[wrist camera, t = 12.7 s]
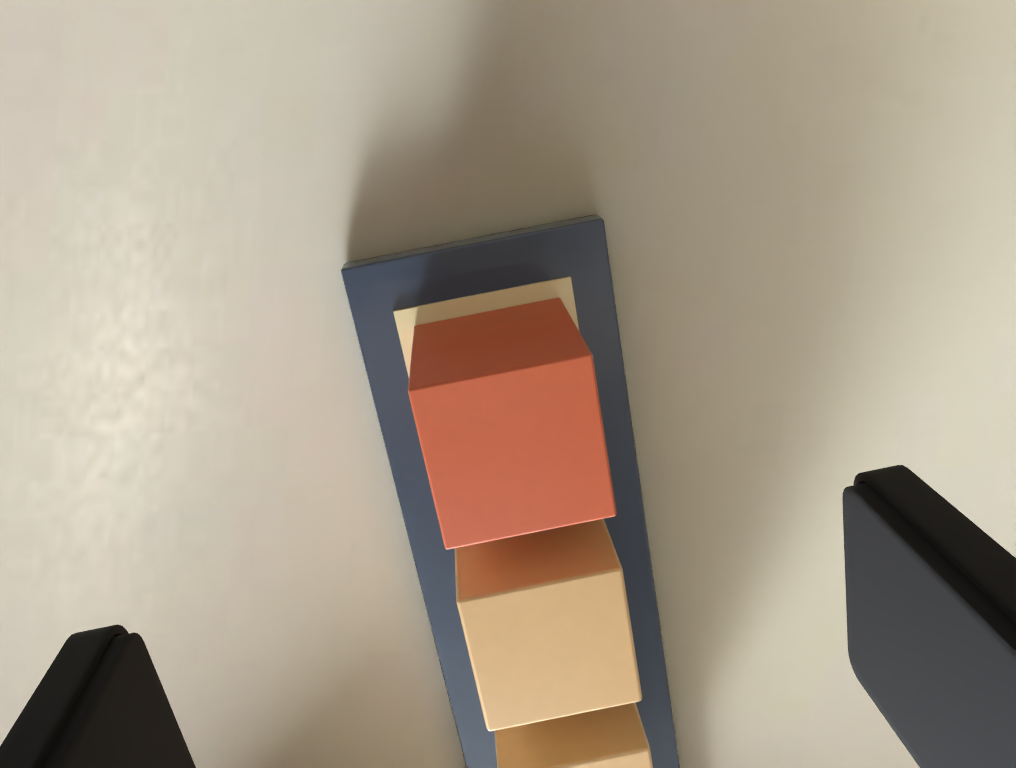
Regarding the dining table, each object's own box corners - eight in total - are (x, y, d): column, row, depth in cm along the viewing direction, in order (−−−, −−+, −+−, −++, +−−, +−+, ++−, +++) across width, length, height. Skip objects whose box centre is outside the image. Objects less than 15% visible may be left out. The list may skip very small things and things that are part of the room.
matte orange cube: (413, 325, 23) (407, 389, 18) (560, 296, 23) (592, 353, 18) (444, 458, 24) (445, 551, 19) (582, 431, 24) (617, 516, 19)
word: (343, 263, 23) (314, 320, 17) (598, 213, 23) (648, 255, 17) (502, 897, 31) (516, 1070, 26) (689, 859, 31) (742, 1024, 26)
